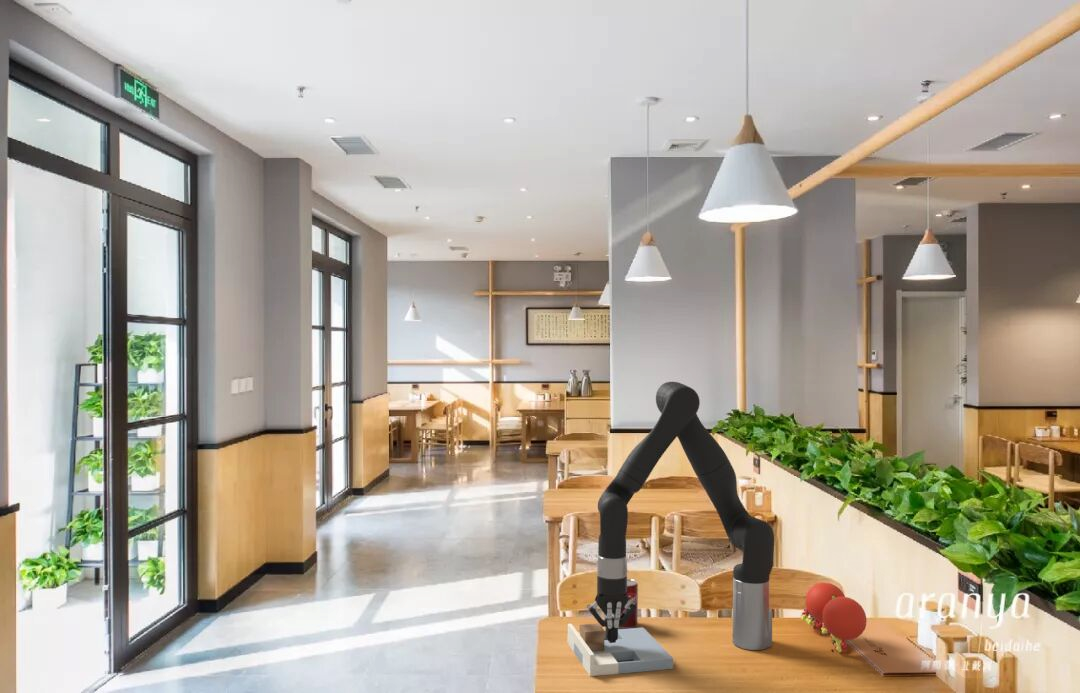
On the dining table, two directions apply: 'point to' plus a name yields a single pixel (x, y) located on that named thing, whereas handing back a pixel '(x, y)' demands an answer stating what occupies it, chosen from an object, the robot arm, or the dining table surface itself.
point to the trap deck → (627, 654)
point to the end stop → (581, 644)
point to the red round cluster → (834, 614)
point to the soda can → (633, 597)
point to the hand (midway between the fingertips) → (611, 641)
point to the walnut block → (593, 636)
